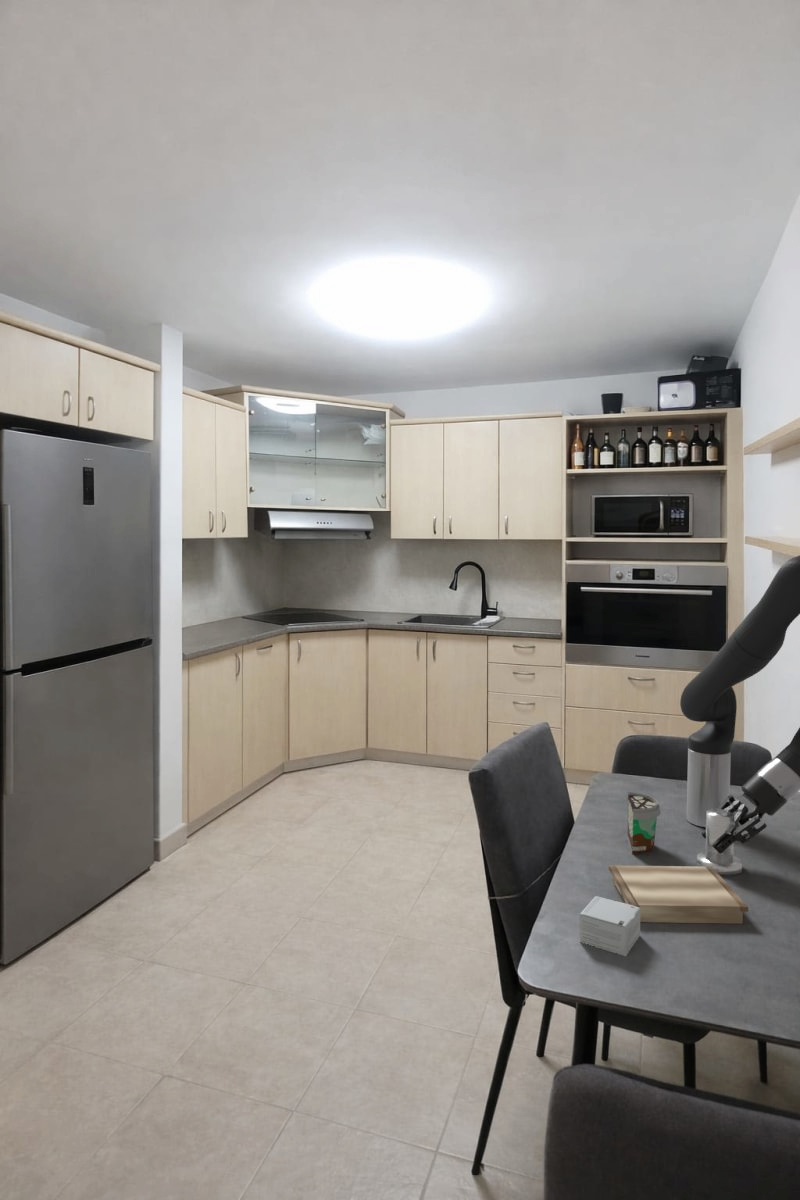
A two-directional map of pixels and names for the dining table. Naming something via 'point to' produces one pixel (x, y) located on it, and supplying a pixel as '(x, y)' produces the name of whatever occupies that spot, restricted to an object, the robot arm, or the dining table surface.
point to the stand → (678, 894)
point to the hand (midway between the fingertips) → (710, 843)
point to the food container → (642, 822)
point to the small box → (610, 925)
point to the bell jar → (715, 828)
